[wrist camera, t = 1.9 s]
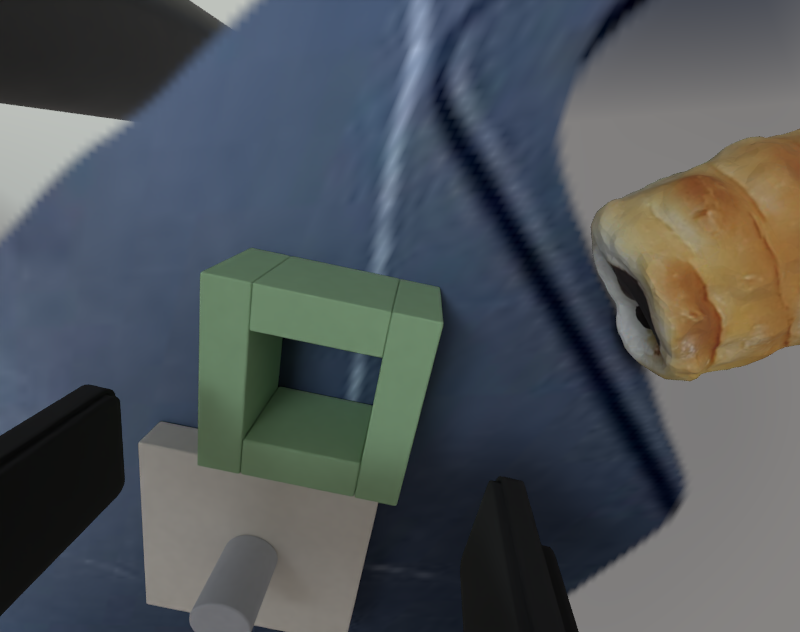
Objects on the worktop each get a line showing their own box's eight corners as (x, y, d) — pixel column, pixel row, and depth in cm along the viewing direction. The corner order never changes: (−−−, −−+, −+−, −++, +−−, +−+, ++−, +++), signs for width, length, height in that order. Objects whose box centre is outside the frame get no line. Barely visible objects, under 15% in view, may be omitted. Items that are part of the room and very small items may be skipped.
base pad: (160, 420, 18) (75, 501, 13) (384, 466, 18) (371, 561, 13) (164, 575, 21) (99, 677, 17) (350, 612, 21) (331, 723, 17)
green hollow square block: (250, 246, 14) (199, 271, 11) (440, 287, 15) (444, 323, 11) (240, 408, 17) (196, 466, 14) (402, 441, 17) (396, 507, 14)
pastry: (888, 50, 11) (1102, 1, 8) (913, 259, 13) (1092, 297, 10) (564, 213, 13) (614, 233, 10) (628, 373, 15) (689, 437, 12)
